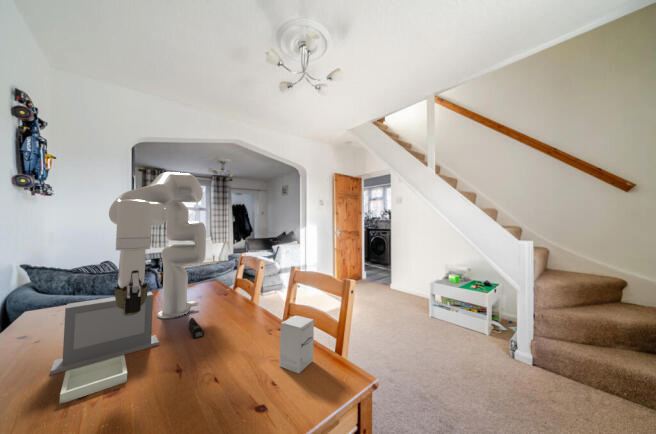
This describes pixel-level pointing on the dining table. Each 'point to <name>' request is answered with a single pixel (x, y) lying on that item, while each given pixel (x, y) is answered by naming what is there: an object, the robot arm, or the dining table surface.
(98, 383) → the parts tray
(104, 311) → the grey sign holder
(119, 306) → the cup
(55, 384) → the dining table surface
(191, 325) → the electric trimmer
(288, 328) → the supplement box
